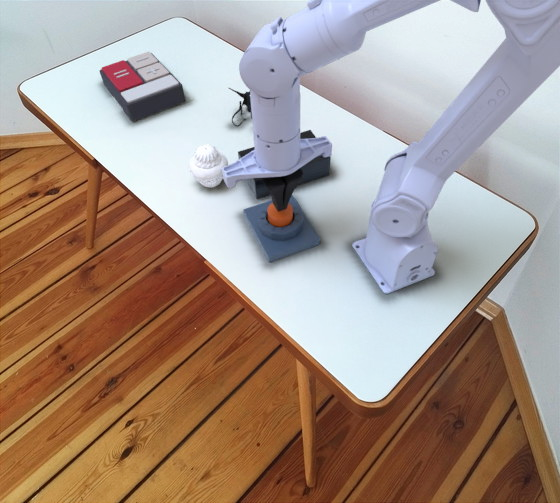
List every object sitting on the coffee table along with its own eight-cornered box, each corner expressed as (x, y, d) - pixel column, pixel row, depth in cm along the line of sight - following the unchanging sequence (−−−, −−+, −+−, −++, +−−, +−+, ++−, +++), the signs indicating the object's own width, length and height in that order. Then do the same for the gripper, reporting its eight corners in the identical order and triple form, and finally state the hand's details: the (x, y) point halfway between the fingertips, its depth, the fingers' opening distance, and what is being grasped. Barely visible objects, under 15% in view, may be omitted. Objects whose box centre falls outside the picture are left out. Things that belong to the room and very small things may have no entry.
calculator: (150, 48, 102) (182, 80, 94) (155, 68, 105) (186, 101, 97) (97, 66, 99) (125, 101, 90) (104, 86, 102) (132, 122, 93)
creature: (278, 127, 93) (265, 95, 96) (279, 107, 88) (265, 73, 92) (236, 137, 92) (224, 104, 95) (235, 117, 87) (222, 83, 90)
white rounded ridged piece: (185, 178, 84) (177, 144, 79) (218, 162, 86) (212, 129, 81) (204, 200, 81) (197, 167, 75) (237, 183, 83) (233, 150, 78)
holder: (329, 175, 84) (330, 156, 80) (256, 199, 81) (254, 181, 78) (310, 148, 88) (310, 129, 85) (239, 170, 85) (237, 151, 82)
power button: (296, 222, 74) (296, 214, 73) (273, 230, 73) (273, 222, 72) (286, 205, 76) (286, 197, 75) (264, 213, 75) (263, 205, 74)
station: (319, 244, 75) (320, 231, 72) (269, 263, 73) (268, 250, 71) (291, 199, 81) (291, 185, 78) (243, 215, 79) (242, 201, 76)
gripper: (316, 94, 66) (313, 172, 77) (208, 125, 63) (221, 202, 73) (342, 126, 62) (335, 204, 73) (228, 160, 59) (239, 237, 69)
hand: (279, 205), depth 73 cm, fingers closed
